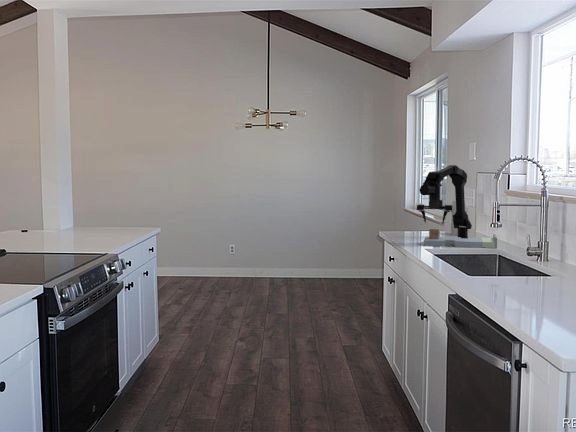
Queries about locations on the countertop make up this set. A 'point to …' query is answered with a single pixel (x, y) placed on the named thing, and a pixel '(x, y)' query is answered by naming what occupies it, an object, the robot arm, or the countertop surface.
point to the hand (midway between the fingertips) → (434, 223)
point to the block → (433, 233)
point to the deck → (462, 242)
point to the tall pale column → (453, 230)
